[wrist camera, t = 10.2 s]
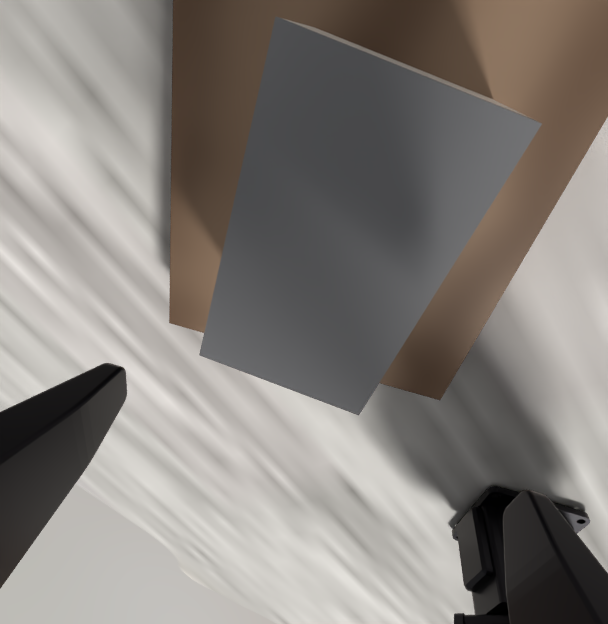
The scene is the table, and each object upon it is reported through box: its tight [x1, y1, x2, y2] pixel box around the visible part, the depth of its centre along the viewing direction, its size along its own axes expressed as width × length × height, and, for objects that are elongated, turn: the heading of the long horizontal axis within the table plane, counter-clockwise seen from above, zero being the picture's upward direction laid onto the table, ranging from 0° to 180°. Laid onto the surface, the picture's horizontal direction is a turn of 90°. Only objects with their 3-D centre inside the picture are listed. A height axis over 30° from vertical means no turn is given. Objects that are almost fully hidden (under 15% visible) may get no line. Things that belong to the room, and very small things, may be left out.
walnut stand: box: [169, 0, 608, 400], centre depth 16 cm, size 14×16×2 cm
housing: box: [199, 16, 542, 415], centre depth 13 cm, size 10×6×5 cm, turn 162°
